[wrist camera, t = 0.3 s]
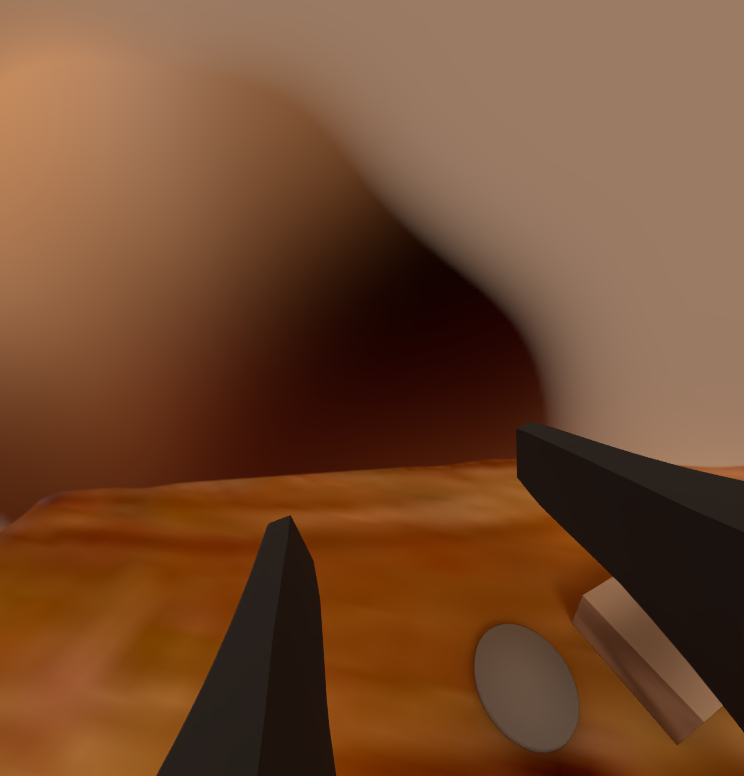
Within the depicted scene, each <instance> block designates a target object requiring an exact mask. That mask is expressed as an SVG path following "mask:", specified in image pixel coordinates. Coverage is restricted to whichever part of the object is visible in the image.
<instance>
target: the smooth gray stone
mask: <svg viewBox="0 0 744 776" xmlns="http://www.w3.org/2000/svg"><path fill="white" fill-rule="evenodd" d="M474 677H475V684H476V688H477V692H478V694H479V697H480V700H481V702H482V704H483V707H484V709H485V710H486V712H487V714H488V716H489V717H490V719H491V720H492V721H493V723H494V724H495V725H496V727H497V728H498V729H499V730H500V731H501V732H502V733H503V734H504V735H505V736H506V737H507V738H509V739H510V740H511V741H512V742H514V743H515V744H517V745H519V746H520V747H522V748H525V749H527V750H530V751H533V752H539V753H548V752H553V751H556V750H558V749H560V748H561V747H563V746H564V745H565V744H566V743H567V742H568V740H569V739H570V737H571V736H572V734H573V732H574V730H575V728H576V726H577V722H578V717H579V699H578V693H577V689H576V685H575V682H574V680H573V677H572V675H571V673H570V670H569V668H568V667H567V665H566V663H565V662H564V660H563V659H562V657H561V656H560V654H559V653H558V652H557V651H556V650H555V648H554V647H553V646H552V645H551V644H550V643H549V642H548V641H546V640H545V639H544V638H543V637H542V636H540V635H539V634H537V633H536V632H534V631H532V630H530V629H528V628H526V627H523V626H520V625H516V624H501V625H497V626H495V627H493V628H491V629H490V630H488V631H487V632H486V633H485V634H484V635H483V636H482V638H481V639H480V641H479V643H478V646H477V649H476V654H475V662H474Z"/></svg>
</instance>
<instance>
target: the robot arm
mask: <svg viewBox="0 0 744 776" xmlns="http://www.w3.org/2000/svg"><path fill="white" fill-rule="evenodd" d="M516 438H517V439H516V440H517V478H518V479H519V480H520V481H521V483H522V484H523V485H524V486H525V488H526V489H527V490H528V492H529V493H530V494H531V495H532V496H533V498H534V499H535V500H536V501H537V502H538V503H539V505H540V506H541V507H542V508H543V509H544V510H545V511H546V512H547V513H548V514H549V515H550V516H551V517H552V518H553V519H554V520H556V521H557V522H558V523H559V524H560V525H561V526H562V527H563V528H564V529H565V530H566V531H567V532H568V533H569V534H570V535H571V536H572V537H573V538H574V539H575V540H576V541H577V542H578V543H579V544H580V545H581V546H582V547H583V548H584V549H585V550H587V551H588V552H589V553H590V554H591V555H592V556H593V557H594V558H595V559H596V560H597V561H598V562H599V563H600V564H601V565H602V566H603V567H604V568H605V569H606V570H607V571H608V572H609V573H610V574H611V575H612V576H613V577H614V578H615V579H616V580H617V581H618V582H619V583H620V584H621V585H622V586H623V588H624V589H625V590H626V591H627V592H628V593H629V594H630V596H631V597H632V598H633V599H634V600H635V601H636V602H637V603H638V605H639V606H640V607H641V608H642V609H643V610H644V611H645V613H646V614H647V615H648V616H649V617H650V618H651V619H652V620H653V622H654V623H655V624H656V625H657V626H658V627H659V629H660V630H661V631H662V632H663V633H664V635H665V636H666V637H667V638H668V639H669V640H670V642H671V643H672V644H673V645H674V646H675V648H676V649H677V650H678V651H679V652H680V653H681V655H682V656H683V657H684V658H685V659H686V661H687V662H688V663H689V664H690V665H691V667H692V668H693V669H694V670H695V672H696V673H697V674H698V675H699V677H700V678H701V679H702V680H703V682H704V683H705V684H706V685H707V686H708V688H709V689H710V690H711V691H712V693H713V694H714V695H715V696H716V698H717V699H718V700H719V701H720V703H721V704H722V705H723V706H724V708H725V709H726V710H727V711H728V713H729V714H730V715H731V716H732V718H733V719H734V720H735V721H736V723H737V724H738V725H739V727H740V728H741V729H742V731H743V732H744V481H741V480H737V479H732V478H728V477H723V476H719V475H714V474H710V473H706V472H701V471H697V470H693V469H689V468H685V467H681V466H677V465H674V464H670V463H666V462H662V461H659V460H655V459H652V458H648V457H645V456H641V455H638V454H634V453H631V452H628V451H624V450H621V449H618V448H615V447H612V446H608V445H605V444H602V443H598V442H596V441H592V440H589V439H586V438H583V437H580V436H577V435H574V434H571V433H568V432H565V431H562V430H559V429H556V428H552V427H549V426H546V425H542V424H539V423H535V422H532V423H529V424H527V425H524V426H521V427H519V428H516ZM156 776H336V771H335V764H334V757H333V750H332V743H331V736H330V729H329V719H328V708H327V696H326V681H325V665H324V650H323V635H322V620H321V606H320V596H319V590H318V584H317V578H316V573H315V567H314V561H313V559H312V557H311V555H310V553H309V551H308V549H307V547H306V545H305V543H304V541H303V539H302V537H301V535H300V533H299V531H298V529H297V527H296V525H295V523H294V521H293V519H292V517H291V515H290V516H287V517H284V518H282V519H279V520H277V521H274V522H271V523H269V524H268V526H267V528H266V531H265V534H264V537H263V540H262V543H261V545H260V548H259V551H258V554H257V557H256V560H255V562H254V565H253V568H252V571H251V573H250V576H249V579H248V581H247V584H246V586H245V589H244V592H243V594H242V597H241V599H240V602H239V604H238V607H237V609H236V612H235V614H234V617H233V619H232V621H231V624H230V626H229V628H228V631H227V633H226V635H225V637H224V640H223V642H222V644H221V647H220V649H219V651H218V653H217V656H216V658H215V660H214V662H213V665H212V667H211V669H210V671H209V673H208V675H207V678H206V680H205V682H204V684H203V686H202V688H201V690H200V692H199V694H198V696H197V698H196V700H195V703H194V705H193V707H192V708H191V710H190V712H189V714H188V716H187V718H186V720H185V722H184V724H183V726H182V728H181V730H180V732H179V734H178V736H177V738H176V740H175V742H174V744H173V746H172V748H171V749H170V751H169V753H168V755H167V757H166V759H165V761H164V762H163V764H162V766H161V768H160V770H159V772H158V774H157V775H156Z"/></svg>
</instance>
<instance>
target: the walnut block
mask: <svg viewBox="0 0 744 776" xmlns="http://www.w3.org/2000/svg"><path fill="white" fill-rule="evenodd" d="M572 624H573V625H574V626H575V627H576V629H577V630H578V631H579V632H580V633H581V634H582V635H583V637H584V638H585V639H586V640H587V641H588V642H589V644H590V645H591V646H592V647H593V648H594V649H595V651H596V652H597V653H598V654H599V655H600V656H601V657H602V659H603V660H604V661H605V662H606V663H607V664H608V666H609V667H610V668H611V669H612V670H613V671H614V673H615V674H616V675H617V676H618V677H619V678H620V679H621V681H622V682H623V683H624V684H625V685H626V686H627V688H628V689H629V690H630V691H631V692H632V693H633V695H634V696H635V697H636V698H637V699H638V700H639V701H640V703H641V704H642V705H643V706H644V707H645V708H646V710H647V711H648V712H649V713H650V714H651V715H652V717H653V718H654V719H655V720H656V721H657V722H658V723H659V725H660V726H661V727H662V728H663V729H664V730H665V732H666V733H667V734H668V735H669V736H670V737H671V739H672V740H673V741H674V742H675V743H676V744H677V745H678V744H679V743H680V742H682V741H683V740H684V739H685V738H686V737H687V736H689V735H690V734H691V733H692V732H693V731H694V730H696V729H697V728H698V727H699V726H700V725H701V724H703V723H704V722H705V721H706V720H707V719H708V718H709V717H710V716H712V715H713V714H714V713H715V712H716V711H717V710H718V709H719V708H721V707H722V706H723V705H722V704H721V703H720V701H719V700H718V699H717V698H716V696H715V695H714V694H713V693H712V691H711V690H710V689H709V688H708V686H707V685H706V684H705V683H704V682H703V680H702V679H701V678H700V677H699V675H698V674H697V673H696V672H695V670H694V669H693V668H692V667H691V665H690V664H689V663H688V662H687V661H686V659H685V658H684V657H683V656H682V655H681V653H680V652H679V651H678V650H677V649H676V648H675V646H674V645H673V644H672V643H671V642H670V640H669V639H668V638H667V637H666V636H665V635H664V633H663V632H662V631H661V630H660V629H659V627H658V626H657V625H656V624H655V623H654V622H653V620H652V619H651V618H650V617H649V616H648V615H647V614H646V613H645V611H644V610H643V609H642V608H641V607H640V606H639V605H638V603H637V602H636V601H635V600H634V599H633V598H632V597H631V596H630V594H629V593H628V592H627V591H626V590H625V589H624V588H623V586H622V585H621V584H620V583H619V582H618V581H617V580H616V579H615V578H614V577H612V578H610V579H608V580H607V581H605V582H603V583H602V584H600V585H599V586H597V587H595V588H594V589H592V590H590V591H589V592H587V593H586V594H584V595H583V596H582V598H581V601H580V603H579V606H578V609H577V611H576V614H575V616H574V619H573V622H572Z"/></svg>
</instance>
